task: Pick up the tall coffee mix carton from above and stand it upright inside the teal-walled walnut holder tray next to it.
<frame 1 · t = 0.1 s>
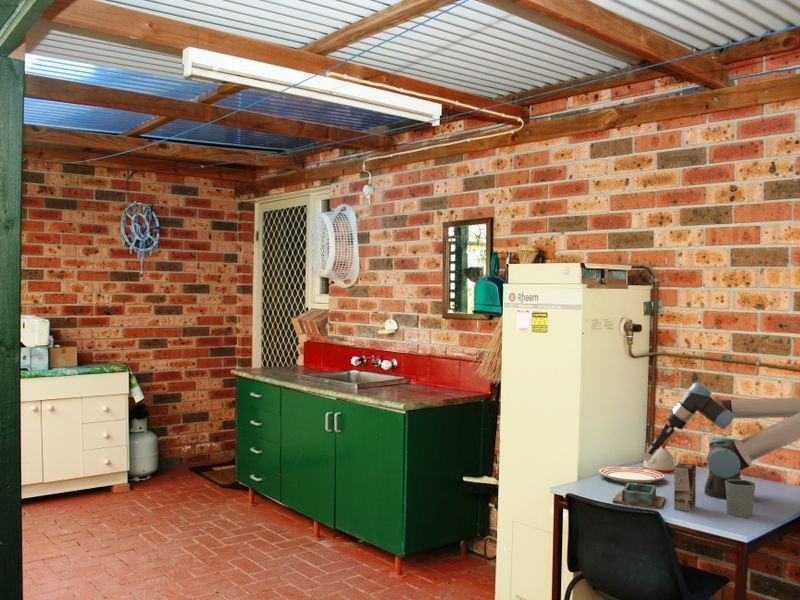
hand: (646, 456, 301), 15 cm above the table, tool tilted 35°, fingers open, 13 cm apart
coffee box: (684, 508, 281), on the table
grey green cup: (739, 514, 273), on the table
dinner plate: (631, 480, 327), on the table
holder tray: (639, 500, 291), on the table
kitchen timer: (658, 470, 344), on the table
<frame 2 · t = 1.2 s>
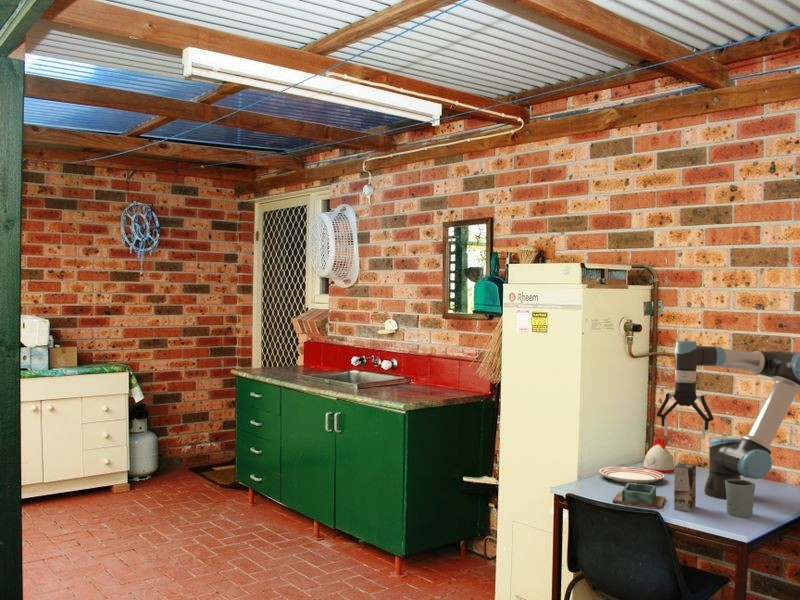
hand: (684, 437, 282), 27 cm above the table, tool pointing down, fingers open, 13 cm apart
nothing on the table moved.
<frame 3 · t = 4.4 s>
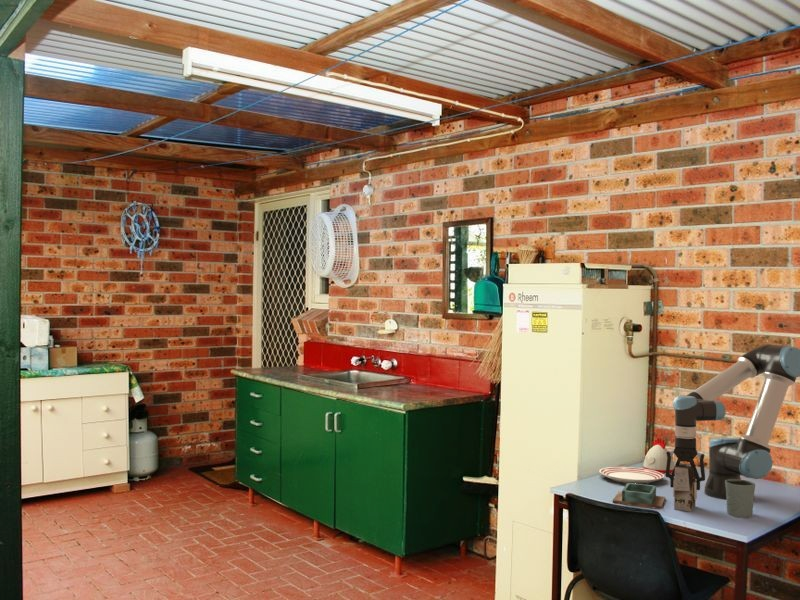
hand: (685, 497, 282), 4 cm above the table, tool pointing down, fingers closed on coffee box, 7 cm apart
coffee box: (684, 508, 282), on the table, touching gripper
everything else where it was.
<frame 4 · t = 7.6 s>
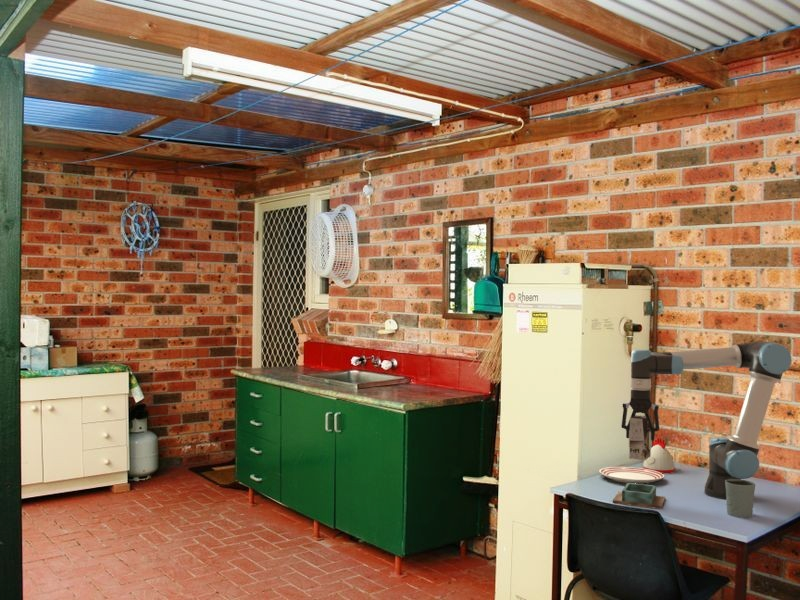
hand: (640, 447, 290), 21 cm above the table, tool pointing down, fingers closed on coffee box, 7 cm apart
coffee box: (640, 458, 290), point 17 cm above the table, touching gripper
everything else where it was.
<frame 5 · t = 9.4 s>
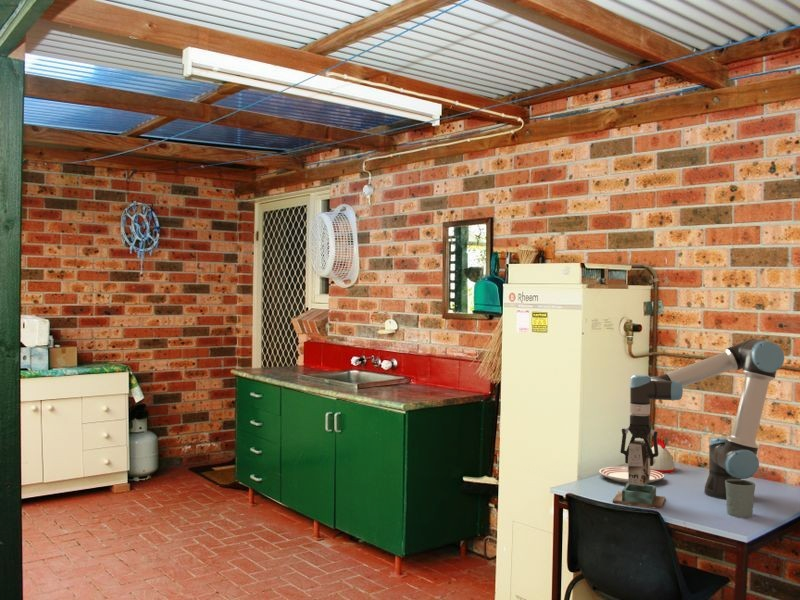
hand: (639, 472, 291), 11 cm above the table, tool pointing down, fingers closed on coffee box, 7 cm apart
coffee box: (639, 483, 291), point 7 cm above the table, touching gripper
everything else where it was.
when the fingers open (7 cm above the table, at t = 11.0 s): coffee box drops 2 cm, resting on holder tray.
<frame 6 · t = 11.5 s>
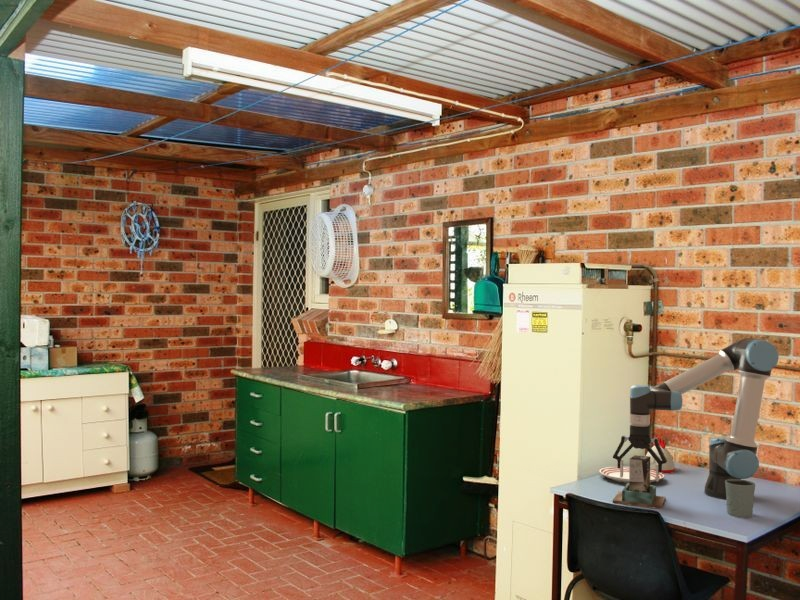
hand: (639, 478, 291), 9 cm above the table, tool pointing down, fingers open, 13 cm apart
coffee box: (639, 498, 291), point 1 cm above the table, touching holder tray
everything else where it was.
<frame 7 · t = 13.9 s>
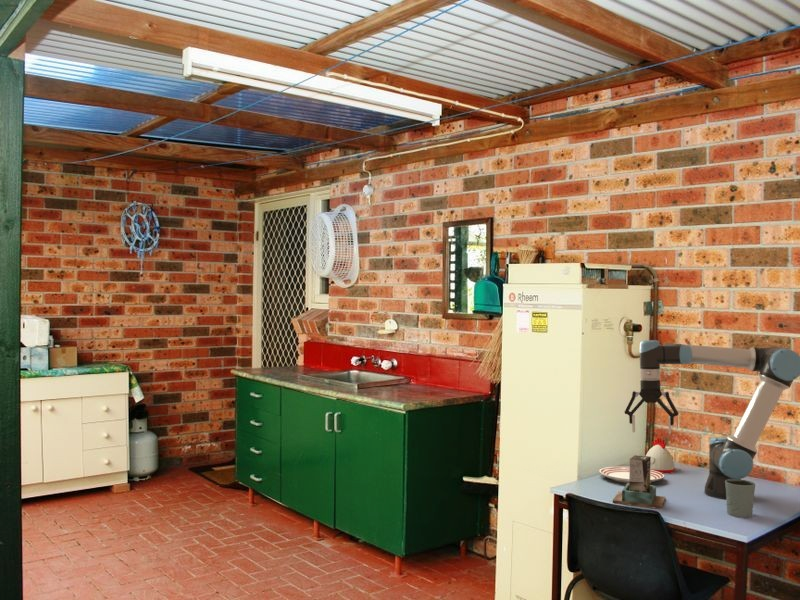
hand: (651, 432, 294), 26 cm above the table, tool pointing down, fingers open, 13 cm apart
nothing on the table moved.
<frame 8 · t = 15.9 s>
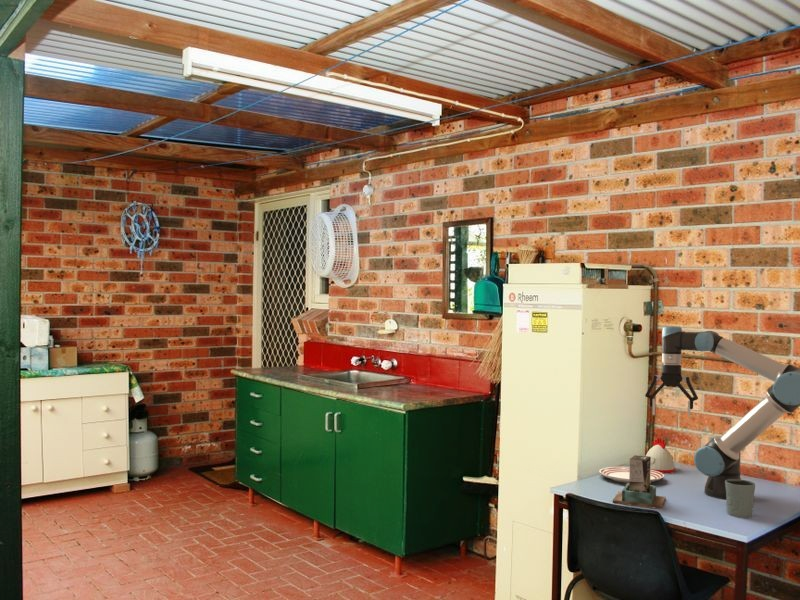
hand: (671, 415, 303), 32 cm above the table, tool pointing down, fingers open, 13 cm apart
nothing on the table moved.
at the end: coffee box 0.2 cm off-centre on the holder tray, point 0.8 cm above the holder tray's base; coffee box tilted 0°; the gripper is holding nothing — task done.
